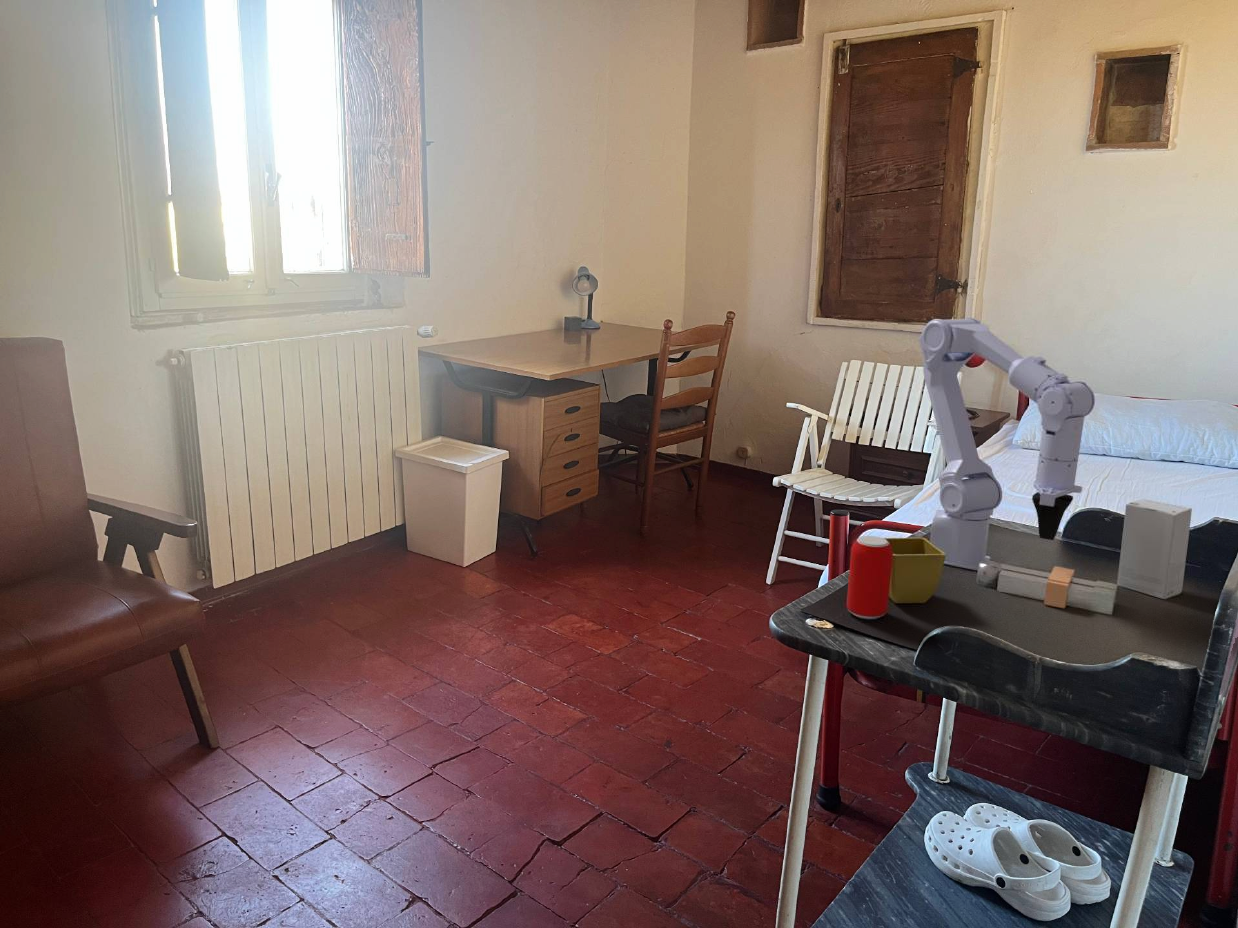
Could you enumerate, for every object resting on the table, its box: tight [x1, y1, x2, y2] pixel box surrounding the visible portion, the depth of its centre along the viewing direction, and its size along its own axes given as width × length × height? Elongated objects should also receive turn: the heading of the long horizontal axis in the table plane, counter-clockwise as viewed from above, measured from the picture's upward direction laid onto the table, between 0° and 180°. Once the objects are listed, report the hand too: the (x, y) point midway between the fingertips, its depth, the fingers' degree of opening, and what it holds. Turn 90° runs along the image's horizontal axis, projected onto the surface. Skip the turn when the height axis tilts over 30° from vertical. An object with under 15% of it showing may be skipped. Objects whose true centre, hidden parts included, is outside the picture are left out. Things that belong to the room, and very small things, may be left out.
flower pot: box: [883, 537, 946, 604], centre depth 147 cm, size 9×9×9 cm
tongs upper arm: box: [976, 560, 1118, 609], centre depth 150 cm, size 21×5×4 cm, turn 57°
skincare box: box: [1116, 498, 1193, 600], centre depth 152 cm, size 8×6×15 cm
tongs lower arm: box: [996, 570, 1117, 616], centre depth 148 cm, size 17×3×3 cm, turn 58°
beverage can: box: [846, 535, 893, 620], centre depth 140 cm, size 6×6×12 cm
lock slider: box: [1043, 565, 1075, 609], centre depth 148 cm, size 3×8×4 cm, turn 148°
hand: (1047, 538), depth 149 cm, fingers closed
